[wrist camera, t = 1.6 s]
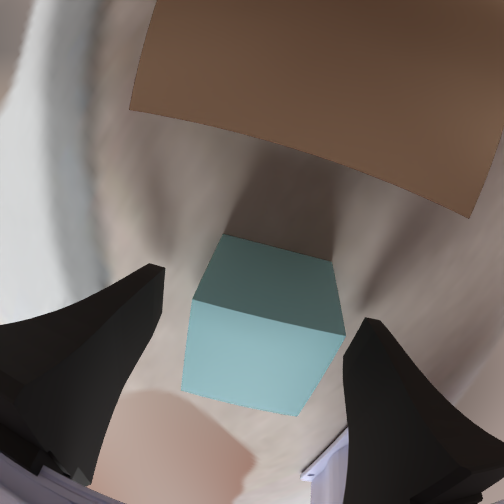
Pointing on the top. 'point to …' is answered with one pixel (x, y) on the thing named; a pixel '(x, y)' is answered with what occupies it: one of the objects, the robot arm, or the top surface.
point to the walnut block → (341, 82)
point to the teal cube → (262, 327)
